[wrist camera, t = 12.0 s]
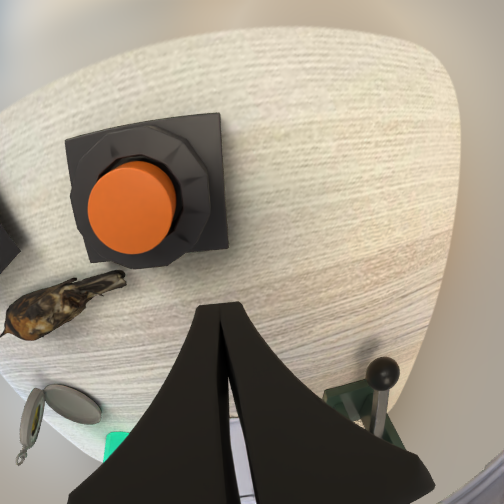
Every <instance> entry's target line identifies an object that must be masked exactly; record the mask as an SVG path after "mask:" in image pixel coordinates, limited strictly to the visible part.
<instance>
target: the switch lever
mask: <svg viewBox="0 0 504 504" xmlns="http://www.w3.org/2000/svg"><path fill="white" fill-rule="evenodd" d="M399 375H400V369H399V366H398V364H397V363H396V361H395V360H393V359H392V358H389V357H380V358H377V359H375V360H374V361H372V362H371V363H370V365H369V366H368V368H367V370H366V381H367V383H368V385H369V386H370V387H371V388H372V389H374V391H373V402H372V411H371V420H370V427H369V432H370V433H372V434H374V435H376V436H377V437H379V438H381V439H382V436H383V431H384V425H385V418H386V412H387V404H388V397H389V389H390V388H392V387H393V386H394V385H395V384H396V383H397V381H398V379H399Z"/></svg>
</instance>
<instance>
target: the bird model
mask: <svg viewBox="0 0 504 504" xmlns="http://www.w3.org/2000/svg"><path fill="white" fill-rule="evenodd" d="M124 277H125V272H124V271H121V270H114V271H110V272H107V273H104V274H100V275H97V276H93V277H90V278H86V279H83V280H82V281H78V282H74V283H72V282H73V281H76V280H77V278H76V277H75V278H71V279H69V280H67V281H65V282H63V283H60V284H58V285H55V286H52V287H50V288H45V289H41V290H38V291H35V292H32V293H29V294H26V295H24V296H22V297H21V298H19V299H18V300H16V301H15V302H14V303H13V304H11V305H10V306H9V308H8V310H7V311H6V318H5V323H4V326H5V329H4V331H3V333H2V334H1V335H0V337H2V336H3V335H5V334H6V333H10V334H13V335H15V336H17V337H18V338H20V339H23V340H31V341H34V340H37V339H39V338H41V337H44V335H46V334H49V333H50V332H52V331H53V330H55V329H56V328H58V327H60V326H62V325H63V324H64V323H66V322H69V321H71V320H72V319H73V318H74V317H76V316H77V315H79V314H80V313H81V312H82V311H83V310H84V309H85V308H86V303H87V302H88V301H89V300H91V299H92V298H93V297H94V296H96V295H101V296H103V295H102V293H105V292H107V291H111V290H113V289H116V288H122V287H124V286H126V285H127V284H126V281H125V280H124Z"/></svg>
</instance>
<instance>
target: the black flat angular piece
mask: <svg viewBox="0 0 504 504" xmlns="http://www.w3.org/2000/svg"><path fill="white" fill-rule="evenodd" d="M20 252H21V250H20V249H19V248H18V247H17V245H16V244H15V243H14V241H13V240H12V239H11V237H10V236H9V234H8V233H7V232H6V230H5V229H4V227H3V226H2V225H1V223H0V274H1V273H2V271H3V270H4V269H5V268H6V267H7V266H8V265H9V264H10V262H11V261H12V260H13V259H14V258H15V257H16V256H17V255H18V254H19V253H20Z"/></svg>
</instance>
